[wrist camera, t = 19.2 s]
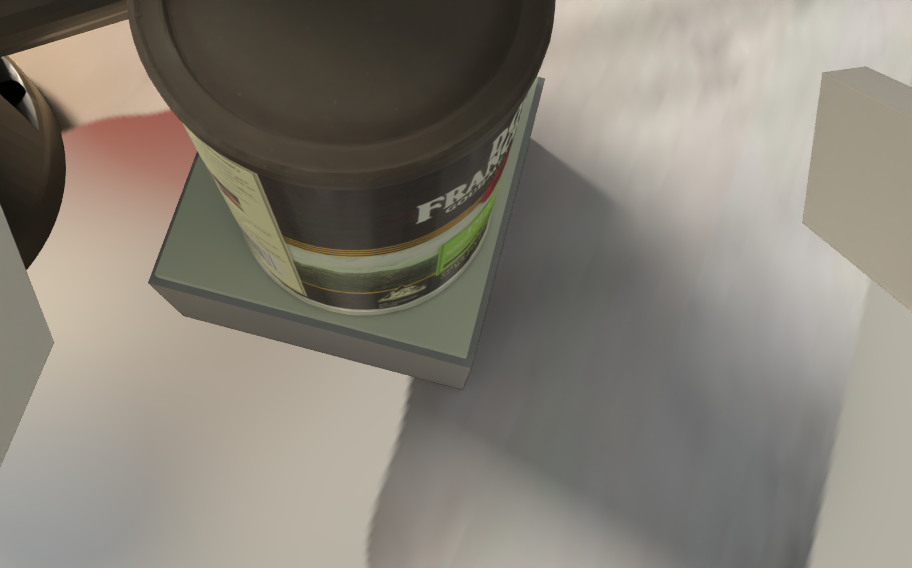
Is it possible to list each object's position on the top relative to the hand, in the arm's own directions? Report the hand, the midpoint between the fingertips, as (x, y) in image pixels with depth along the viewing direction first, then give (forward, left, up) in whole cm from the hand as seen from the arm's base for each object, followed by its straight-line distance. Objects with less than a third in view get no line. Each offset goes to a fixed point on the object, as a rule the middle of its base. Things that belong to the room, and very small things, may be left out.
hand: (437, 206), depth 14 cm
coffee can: (-4, +7, -19) cm, 21 cm away
